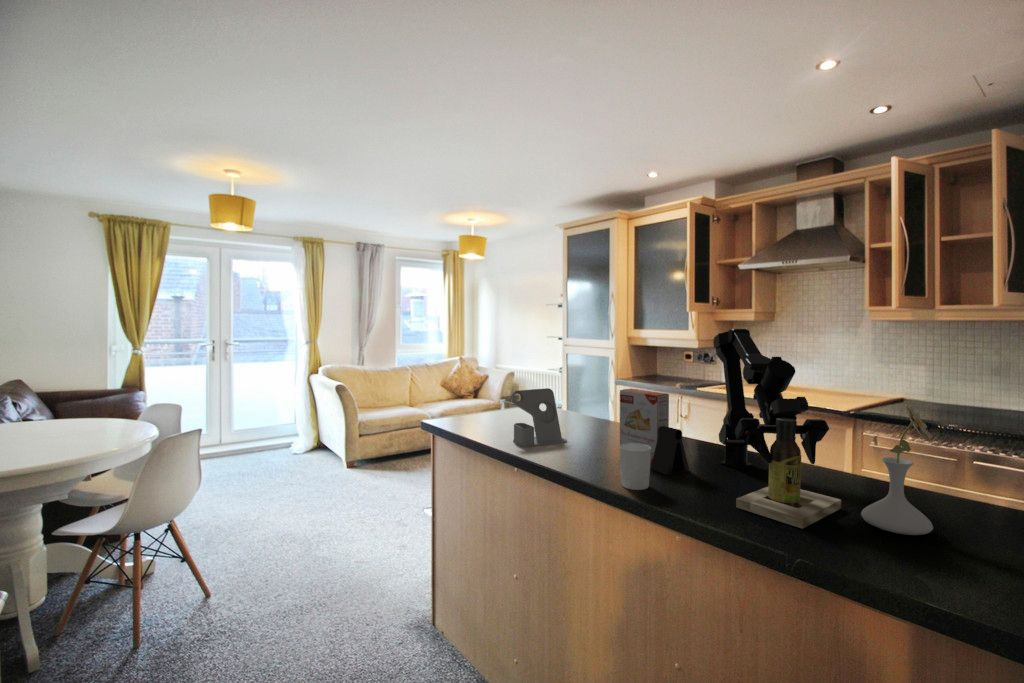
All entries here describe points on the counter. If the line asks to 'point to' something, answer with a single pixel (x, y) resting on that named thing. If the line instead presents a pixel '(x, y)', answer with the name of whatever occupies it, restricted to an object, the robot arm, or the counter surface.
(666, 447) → the door stopper
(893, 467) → the flower in vase
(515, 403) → the phone holder
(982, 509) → the counter surface
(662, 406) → the cracker box
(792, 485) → the sauce bottle
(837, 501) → the board
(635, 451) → the white cup
